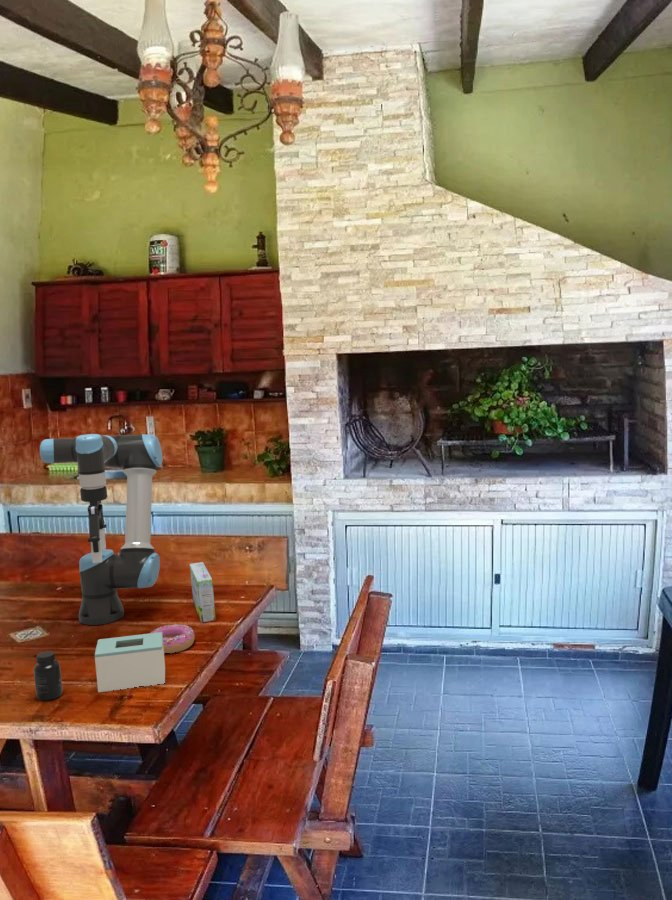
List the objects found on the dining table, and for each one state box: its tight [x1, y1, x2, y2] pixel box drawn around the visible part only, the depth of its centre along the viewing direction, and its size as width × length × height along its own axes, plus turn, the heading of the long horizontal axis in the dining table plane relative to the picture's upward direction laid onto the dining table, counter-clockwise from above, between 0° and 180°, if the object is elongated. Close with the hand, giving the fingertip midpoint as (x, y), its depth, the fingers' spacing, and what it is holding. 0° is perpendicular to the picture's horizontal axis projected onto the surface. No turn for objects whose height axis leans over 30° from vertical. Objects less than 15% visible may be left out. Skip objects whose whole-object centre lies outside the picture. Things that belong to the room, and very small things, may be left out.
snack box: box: [189, 561, 217, 624], centre depth 272 cm, size 21×6×15 cm, turn 18°
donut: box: [150, 623, 196, 655], centre depth 245 cm, size 14×14×5 cm
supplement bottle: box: [33, 650, 64, 702], centre depth 213 cm, size 7×7×12 cm
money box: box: [94, 632, 166, 693], centre depth 221 cm, size 11×18×11 cm, turn 102°
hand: (99, 556), depth 234 cm, fingers open, 13 cm apart
